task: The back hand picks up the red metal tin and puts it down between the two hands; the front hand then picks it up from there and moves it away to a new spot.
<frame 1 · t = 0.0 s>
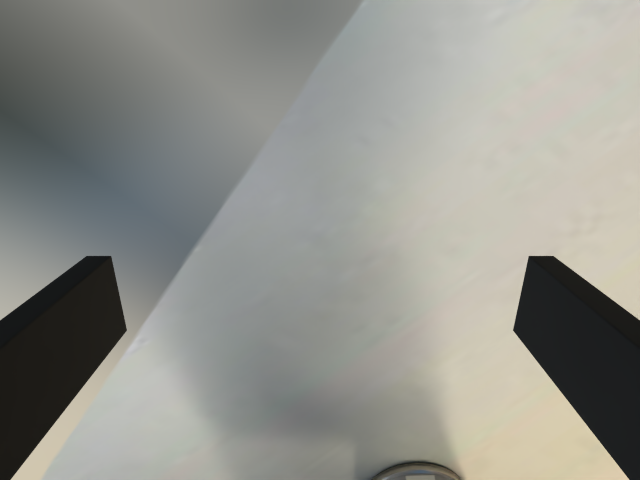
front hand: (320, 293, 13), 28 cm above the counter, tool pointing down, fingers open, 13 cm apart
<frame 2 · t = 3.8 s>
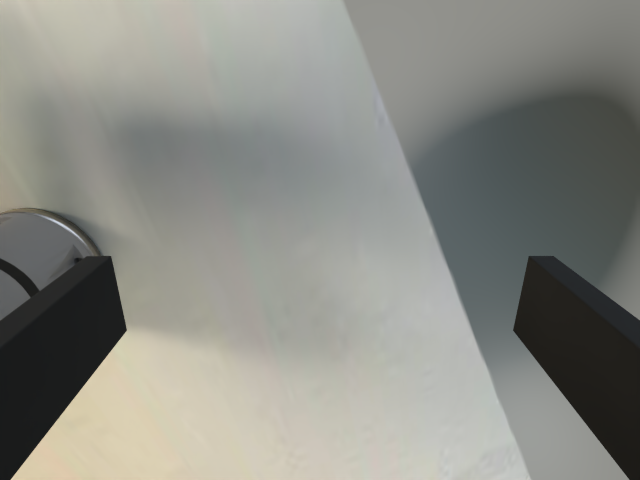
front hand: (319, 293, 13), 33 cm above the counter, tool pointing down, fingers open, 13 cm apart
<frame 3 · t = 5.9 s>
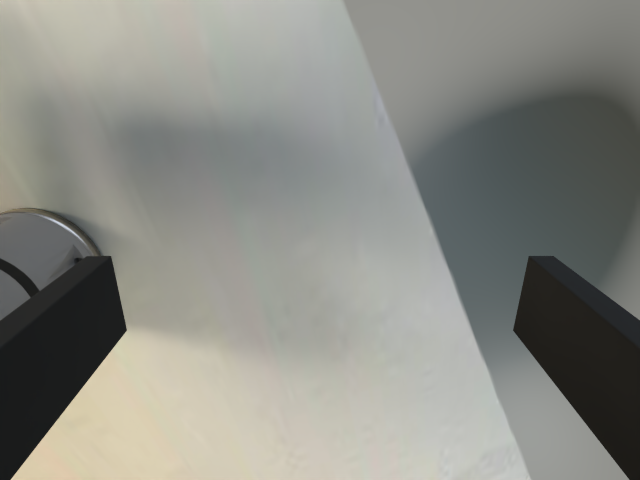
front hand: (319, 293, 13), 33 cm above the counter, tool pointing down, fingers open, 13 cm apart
when the back hand's fingers open (6 cm above the counter, at t = 8.1 s): tin drops 1 cm, on the counter.
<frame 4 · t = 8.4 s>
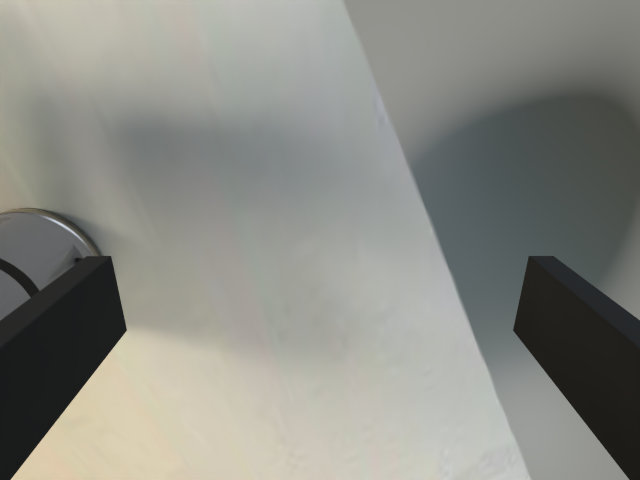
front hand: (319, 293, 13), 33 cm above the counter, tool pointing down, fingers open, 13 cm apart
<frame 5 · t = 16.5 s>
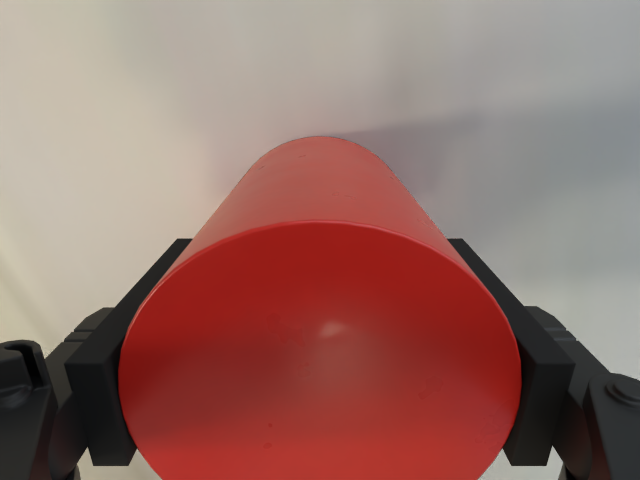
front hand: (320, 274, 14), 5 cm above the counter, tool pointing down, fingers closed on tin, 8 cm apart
tin: (319, 226, 19), on the counter, touching front hand
when the front hand's fingers open (6 cm above the counter, at t = 27.0 s): tin drops 1 cm, on the counter.
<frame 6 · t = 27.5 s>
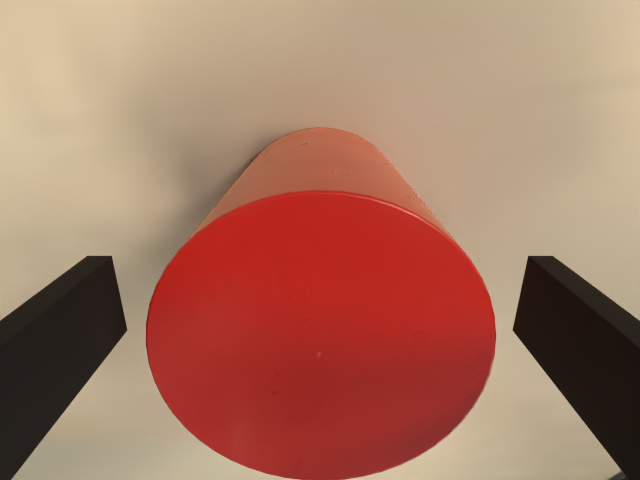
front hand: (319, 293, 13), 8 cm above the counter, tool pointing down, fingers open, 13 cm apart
tin: (320, 213, 20), on the counter
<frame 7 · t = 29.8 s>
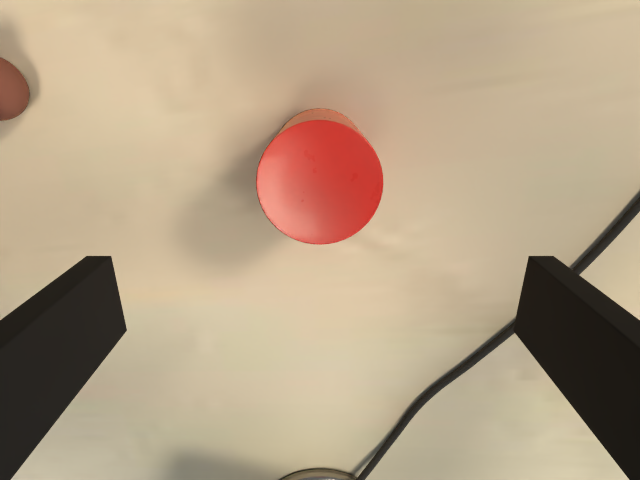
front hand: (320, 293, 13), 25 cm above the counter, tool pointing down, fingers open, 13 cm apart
tin: (319, 156, 36), on the counter
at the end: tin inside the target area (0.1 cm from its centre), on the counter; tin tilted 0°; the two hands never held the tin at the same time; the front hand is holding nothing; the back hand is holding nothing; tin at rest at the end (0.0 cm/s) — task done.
